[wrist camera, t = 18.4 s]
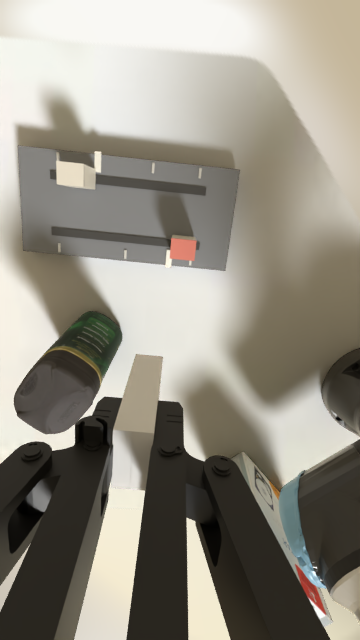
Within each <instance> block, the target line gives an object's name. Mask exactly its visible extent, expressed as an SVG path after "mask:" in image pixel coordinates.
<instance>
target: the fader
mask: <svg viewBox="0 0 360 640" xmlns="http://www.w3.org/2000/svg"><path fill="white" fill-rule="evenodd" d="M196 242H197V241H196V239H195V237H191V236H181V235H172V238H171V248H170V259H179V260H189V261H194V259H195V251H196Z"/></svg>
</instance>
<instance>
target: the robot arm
mask: <svg viewBox="0 0 360 640" xmlns="http://www.w3.org/2000/svg"><path fill="white" fill-rule="evenodd" d="M162 361H163V357H160V356H149V355H138V354H136V356H135V359H134V362H133V366H132V369H131V372H130V375H129V379H128V382H127V385H126V389H125V392H124V395H123V398H115V397H104V398H103V399H101V400H100V401H99V402H98V403H97V405H96V408H95V411H94V412H93V415H92V416H88V417H84V418H82V419H81V420H79V421H78V422H77V423H76V424H75V445H74V446H72V447H70V448H67V449H62V450H55V451H52V448H51V447H50V446H49V445H48V444H46V443H44V442H30V443H27V444H24V445H22V446H20V447H19V448H17V449H16V450H15V451H14V452H13V453H12V454H11V455H10V456H9V457H8V458H6V459H5V460H4V461H3V462H2V463H1V464H0V585H1V584H2V582H3V581H4V580H5V578H6V576H8V574H9V573H10V571H11V570H12V569H13V567H14V566H15V564H16V563H17V562H18V560H19V559H20V557H21V556H22V554H23V553H24V552H25V550H26V549H27V547H28V546H29V545H30V546H29V548H28V551H27V553H26V555H25V558H24V560H23V562H22V565H21V567H20V569H19V571H18V574H17V576H16V578H15V581H14V582H13V585H12V587H11V589H10V591H9V594H8V596H7V598H6V600H5V603H4V605H3V607H2V609H1V612H0V640H74V637H75V633H76V629H77V625H78V621H79V616H80V613H81V608H82V604H83V600H84V596H85V592H86V588H87V584H88V579H89V575H90V572H91V568H92V564H93V559H94V555H95V551H96V547H97V543H98V539H99V535H100V531H101V526H102V523H103V518H104V514H105V510H106V506H107V502H108V492H109V486H110V482H111V488H120V489H132V490H145V498H144V506H143V514H142V522H141V530H140V538H139V545H138V553H137V561H136V569H135V577H134V585H133V592H132V601H131V609H130V616H129V624H128V632H127V640H188V590H187V530H186V529H187V528H186V517H187V518H189V519H192V520H194V521H195V522H196V527H197V531H198V534H199V537H200V541H201V544H202V547H203V550H204V553H205V557H206V560H207V563H208V567H209V570H210V573H211V576H212V580H213V583H214V586H215V590H216V593H217V596H218V599H219V603H220V606H221V609H222V612H223V616H224V619H225V622H226V626H227V629H228V632H229V636H230V639H231V640H330V638H329V636H328V634H327V632H326V630H325V629H324V627H323V625H322V623H321V621H320V619H319V617H318V615H317V613H316V612H315V610H314V608H313V606H312V604H311V602H310V600H309V598H308V597H307V595H306V593H305V591H304V589H303V587H302V585H301V583H300V581H299V580H298V578H297V576H296V574H295V572H294V570H293V568H292V566H291V565H290V563H289V561H288V559H287V557H286V555H285V553H284V551H283V550H282V548H281V546H280V544H279V542H278V540H277V538H276V536H275V534H274V533H273V531H272V529H271V527H270V525H269V523H268V521H267V519H266V518H265V516H264V514H263V512H262V510H261V508H260V506H259V504H258V503H257V501H256V499H255V497H254V495H253V493H252V491H251V489H250V487H249V486H248V484H247V482H246V480H245V478H244V476H243V474H242V472H241V471H240V469H239V467H238V466H237V464H236V463H235V462H234V461H233V460H231V459H229V458H227V457H224V456H212V457H209V458H208V459H207V460H205V462H204V461H201V460H198V459H196V458H193V457H192V456H190V455H189V454H188V453H187V452H186V450H185V448H184V436H183V408H182V407H181V405H180V404H179V402H169V401H159V393H160V383H161V372H162ZM322 397H323V402H324V404H325V407H326V408H327V410H328V411H329V413H330V414H331V416H332V417H333V418H334V419H335V420H336V421H337V422H338V423H339V424H340V425H341V426H343V427H344V428H346V429H348V430H349V431H351V432H353V433H354V434H356V435H358V436H360V348H359V349H356V350H354V351H352V352H350V353H348V354H346V355H345V356H343V357H342V358H341V359H339V360H338V361H337V362H336V363H335V364H334V365H333V366H332V368H331V369H330V370H329V372H328V374H327V376H326V378H325V380H324V383H323V388H322ZM279 513H280V518H281V522H282V526H283V529H284V532H285V535H286V538H287V541H288V543H289V546H290V548H291V550H292V553H293V554H294V556H296V557H297V560H298V563H299V566H300V568H301V569H302V571H303V573H304V574H305V576H306V577H307V578H308V579H309V581H310V582H311V583H312V584H314V585H315V586H317V587H319V588H325V589H326V588H327V590H328V592H329V594H330V596H331V598H332V600H333V601H334V602H335V603H336V604H338V605H340V606H342V607H343V608H345V609H347V610H349V611H350V612H352V613H353V614H354V615H355V617H356V619H357V620H358V623H359V625H360V439H359V440H358V441H356V442H354V443H353V444H351V445H349V446H347V447H346V448H344V449H342V450H340V451H339V452H337V453H335V454H334V455H332V456H330V457H329V458H327V459H325V460H323V461H322V462H320V463H318V464H317V465H315V466H313V467H312V468H310V469H308V470H306V471H305V470H304V471H302V472H301V473H300V474H299V475H298V476H297V477H296V478H295V479H293V480H292V481H290V482H289V483H287V484H286V485H284V487H283V488H282V489H281V492H280V496H279ZM30 543H31V544H30Z"/></svg>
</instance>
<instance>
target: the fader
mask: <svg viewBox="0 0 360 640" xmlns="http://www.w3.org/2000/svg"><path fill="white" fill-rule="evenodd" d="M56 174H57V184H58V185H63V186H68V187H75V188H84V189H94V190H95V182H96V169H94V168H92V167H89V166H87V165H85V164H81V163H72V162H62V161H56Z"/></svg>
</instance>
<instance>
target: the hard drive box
mask: <svg viewBox="0 0 360 640" xmlns="http://www.w3.org/2000/svg"><path fill="white" fill-rule="evenodd" d="M231 460H233V461H234V462H235V463H236V464H237V466H238V467H239V469H240V471H241V472H242V474H243V476H244V478H245V480H246V482H247V484H248V486H249V487H250V489H251V491H252V493H253V495H254V497H255V499H256V501H257V503H258V504H259V506H260V508H261V510H262V512H263V514H264V516H265V518H266V519H267V521H268V523H269V525H270V527H271V529H272V531H273V533H274V534H275V536H276V538H277V540H278V542H279V544H280V546H281V548H282V550H283V551H284V553H285V555H286V557H287V559H288V561H289V563H290V565H291V566H292V568H293V570H294V572H295V574H296V576H297V578H298V580H299V581H300V583H301V585H302V587H303V589H304V591H305V593H306V595H307V597H308V598H309V600H310V602H311V604H312V606H313V608H314V610H315V612H316V613H317V615H318V617H319V619H320V621H321V623H322V625H323V627H325V626H327V625H329V624H331V623H333V621H332V619H331V616H330V613H329V611H328V608H327V606H326V603H325V600H324V597H323V595H322V592H321V589H320V588H319V587H317V586H315V585H314V584H312V583H311V582H310V581H309V579H308V578H307V577H306V576H305V574H304V573H303V571H302V569H301V568H300V566H299V563H298V560H297V557H296V556H294V554H293V553H292V550H291V548H290V546H289V543H288V541H287V538H286V535H285V532H284V529H283V526H282V522H281V518H280V513H279V496H280V492H279V491H278V490H277V489H276V488H275V486H274V485H273V484H272V483H271V482H270V481H269V480H268V479H267V478H266V476H265V475H264V474H263V473H262V472H261V471H260V470H259V468H258V467H257V466H256V465H255V464H254V463H253V461H252V460H251V459H250V458H249V457H248V456H247V455H246V454H245V453H244V452H241V453H239V454H238V455H236V456H234V457H233V458H231Z"/></svg>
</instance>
